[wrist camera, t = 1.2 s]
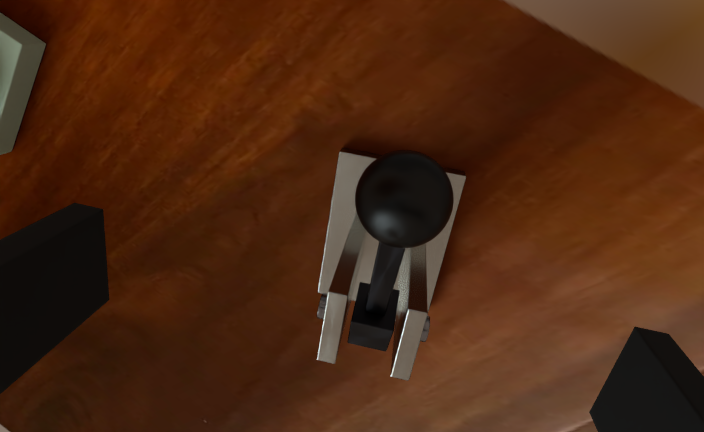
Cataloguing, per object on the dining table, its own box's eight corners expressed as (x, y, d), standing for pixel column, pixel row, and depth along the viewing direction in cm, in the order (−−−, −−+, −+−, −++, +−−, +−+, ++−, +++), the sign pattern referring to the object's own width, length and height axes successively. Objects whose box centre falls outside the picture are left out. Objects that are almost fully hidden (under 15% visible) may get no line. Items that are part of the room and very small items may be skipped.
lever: (369, 121, 16) (349, 193, 14) (467, 140, 16) (463, 216, 14) (346, 293, 26) (332, 350, 24) (405, 306, 26) (397, 365, 24)
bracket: (341, 147, 32) (297, 214, 20) (464, 171, 31) (491, 254, 20) (320, 285, 37) (274, 403, 25) (426, 308, 36) (429, 440, 25)
